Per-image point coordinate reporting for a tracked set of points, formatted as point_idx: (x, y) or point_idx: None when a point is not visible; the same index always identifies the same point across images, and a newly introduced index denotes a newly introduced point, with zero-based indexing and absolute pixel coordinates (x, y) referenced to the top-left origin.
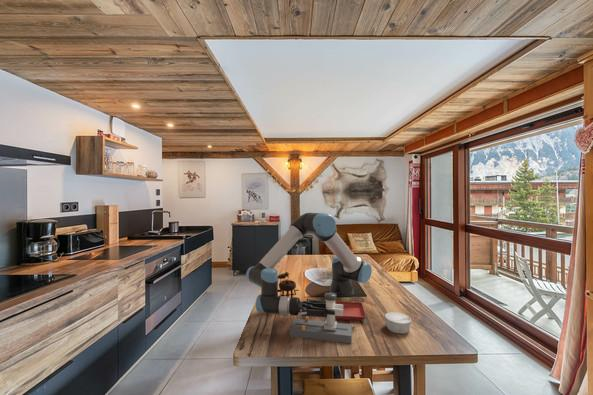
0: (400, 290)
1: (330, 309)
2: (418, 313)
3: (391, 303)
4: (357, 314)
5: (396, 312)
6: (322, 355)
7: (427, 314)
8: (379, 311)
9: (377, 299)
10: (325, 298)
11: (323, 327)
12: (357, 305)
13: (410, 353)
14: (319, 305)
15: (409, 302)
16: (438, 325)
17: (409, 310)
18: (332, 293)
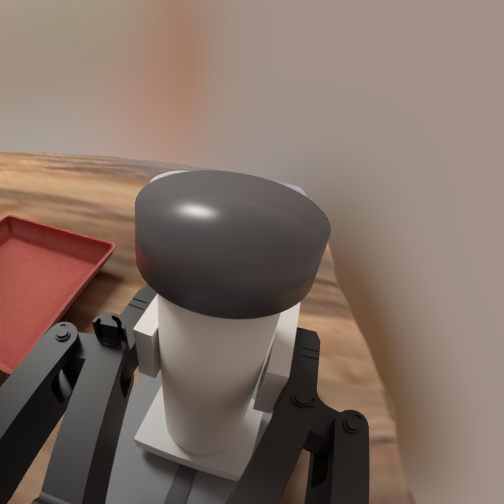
0: (10, 154)
1: (290, 354)
2: (124, 168)
3: (45, 179)
4: (49, 261)
5: (157, 176)
6: (408, 501)
7: (136, 162)
8: (65, 210)
9: (4, 190)
10: (275, 304)
11: (193, 479)
12: (1, 234)
13: (325, 249)
14: (104, 440)
15: (67, 160)
16: (191, 170)
17: (101, 171)
18: (194, 183)
